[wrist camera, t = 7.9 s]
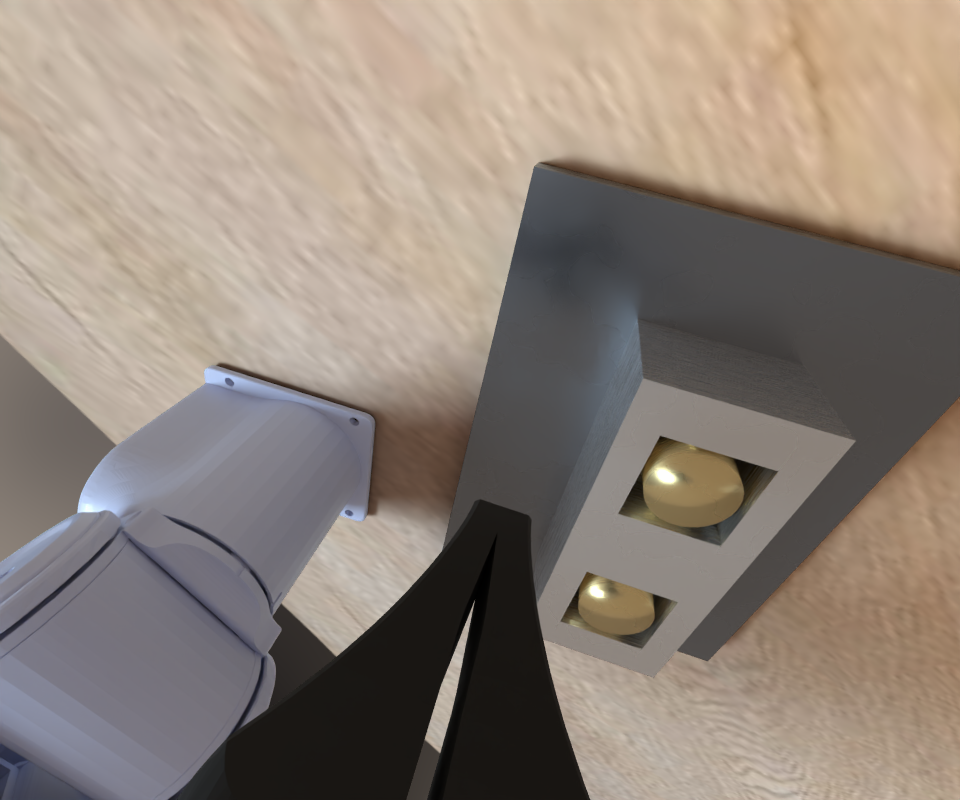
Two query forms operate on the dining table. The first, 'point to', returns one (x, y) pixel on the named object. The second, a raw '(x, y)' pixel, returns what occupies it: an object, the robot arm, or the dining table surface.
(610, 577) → the housing
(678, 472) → the pin
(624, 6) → the dining table surface
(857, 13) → the dining table surface
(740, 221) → the plate
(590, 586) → the pin
